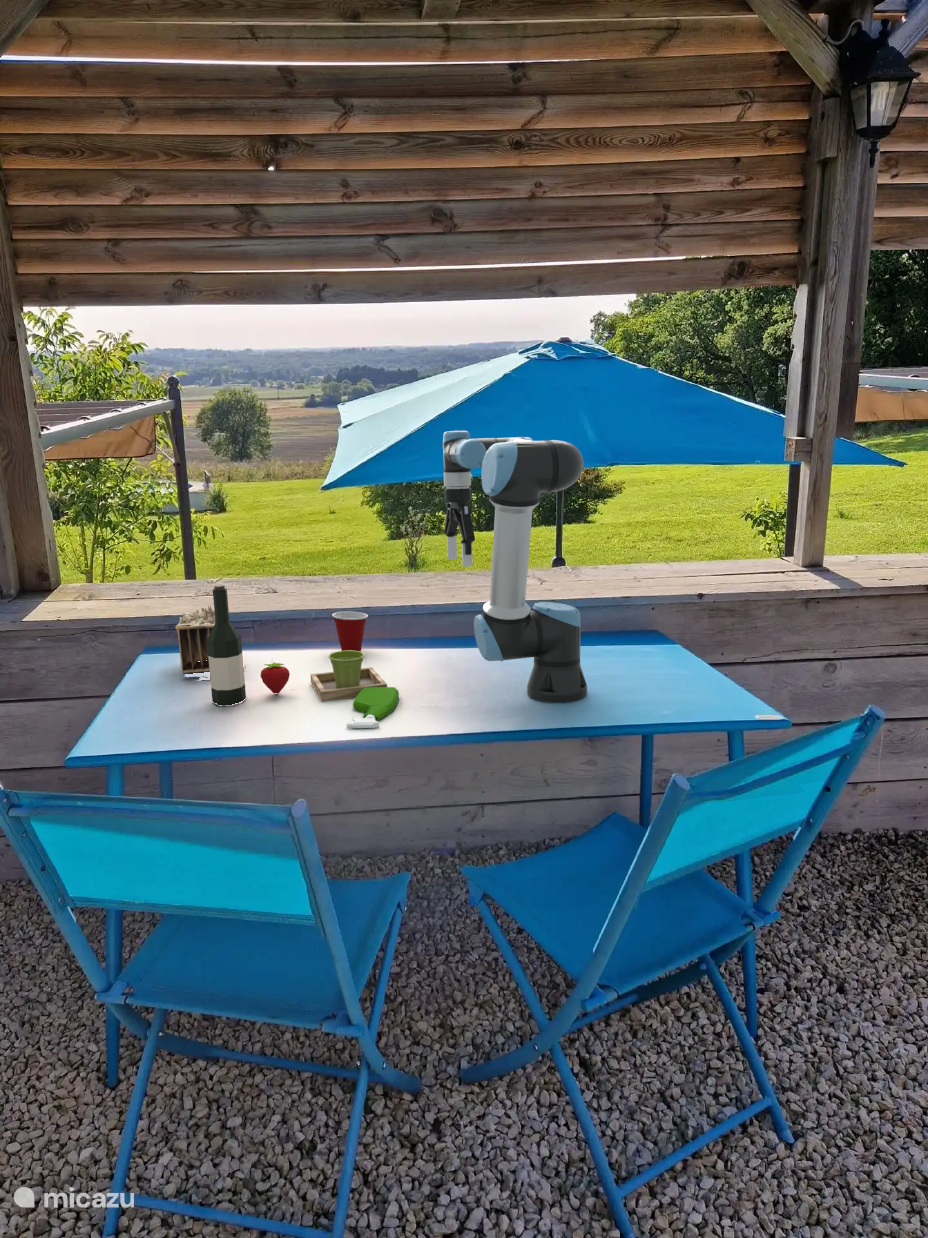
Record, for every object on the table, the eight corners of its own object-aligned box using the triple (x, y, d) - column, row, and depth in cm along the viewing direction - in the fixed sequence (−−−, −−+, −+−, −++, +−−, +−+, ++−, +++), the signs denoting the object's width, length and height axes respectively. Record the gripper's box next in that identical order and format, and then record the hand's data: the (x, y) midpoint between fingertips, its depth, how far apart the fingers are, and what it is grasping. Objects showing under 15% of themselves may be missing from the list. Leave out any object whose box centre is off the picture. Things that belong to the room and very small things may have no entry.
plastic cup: (374, 654, 268) (372, 615, 265) (339, 658, 264) (336, 619, 261) (364, 645, 278) (362, 608, 275) (330, 649, 274) (328, 611, 271)
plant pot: (369, 681, 239) (367, 650, 237) (361, 692, 230) (360, 659, 228) (335, 681, 240) (333, 650, 238) (326, 691, 231) (324, 659, 229)
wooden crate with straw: (145, 670, 257) (139, 607, 252) (223, 652, 274) (219, 593, 269) (185, 690, 239) (179, 623, 235) (266, 670, 256) (262, 607, 251)
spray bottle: (401, 697, 227) (387, 732, 204) (359, 697, 228) (340, 732, 204) (401, 686, 227) (386, 720, 203) (359, 686, 228) (339, 720, 204)
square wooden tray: (387, 693, 230) (386, 684, 229) (321, 701, 224) (321, 691, 224) (372, 675, 245) (372, 667, 245) (310, 683, 240) (310, 674, 240)
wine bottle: (211, 698, 229) (200, 584, 222) (244, 694, 232) (234, 581, 225) (214, 708, 221) (203, 590, 214) (248, 703, 224) (238, 587, 217)
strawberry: (288, 697, 228) (285, 660, 226) (259, 698, 228) (256, 660, 226) (293, 690, 234) (290, 654, 232) (264, 691, 234) (262, 654, 232)
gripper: (485, 489, 237) (487, 568, 242) (456, 483, 260) (458, 555, 265) (459, 491, 235) (461, 570, 240) (432, 484, 258) (434, 557, 263)
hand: (459, 562), depth 253 cm, fingers open, 13 cm apart
